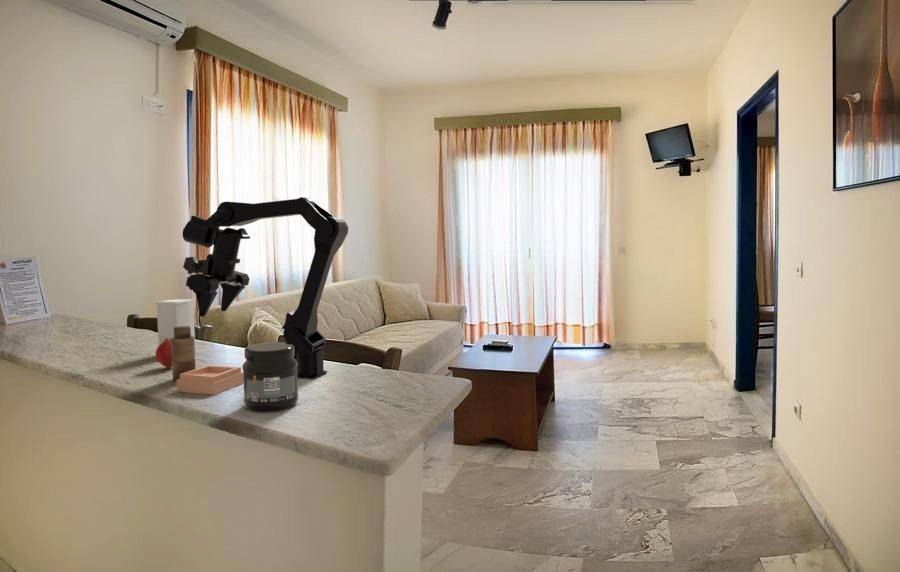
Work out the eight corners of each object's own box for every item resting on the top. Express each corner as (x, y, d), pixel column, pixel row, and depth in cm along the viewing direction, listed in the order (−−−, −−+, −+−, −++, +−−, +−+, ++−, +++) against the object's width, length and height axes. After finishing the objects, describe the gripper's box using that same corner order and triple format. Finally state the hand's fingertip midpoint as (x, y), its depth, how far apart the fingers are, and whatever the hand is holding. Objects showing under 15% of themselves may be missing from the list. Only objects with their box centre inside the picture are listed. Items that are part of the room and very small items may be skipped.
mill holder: (244, 382, 130) (244, 367, 129) (215, 394, 120) (214, 377, 120) (208, 379, 132) (207, 364, 132) (177, 391, 123) (176, 374, 123)
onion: (156, 366, 145) (154, 336, 145) (181, 364, 148) (179, 334, 147) (156, 371, 140) (154, 340, 140) (181, 369, 143) (180, 338, 142)
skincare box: (177, 357, 157) (175, 302, 155) (157, 356, 158) (154, 301, 157) (196, 351, 165) (194, 298, 164) (177, 350, 166) (174, 298, 165)
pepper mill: (200, 377, 135) (198, 326, 134) (185, 382, 130) (183, 329, 129) (183, 375, 136) (181, 325, 135) (168, 380, 132) (165, 328, 130)
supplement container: (275, 394, 120) (273, 339, 119) (309, 402, 114) (308, 345, 113) (232, 407, 111) (230, 348, 110) (267, 417, 105) (265, 354, 104)
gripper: (216, 243, 147) (205, 300, 149) (171, 245, 128) (159, 310, 130) (255, 254, 145) (243, 311, 147) (215, 257, 127) (202, 323, 129)
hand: (213, 313), depth 138 cm, fingers open, 9 cm apart
